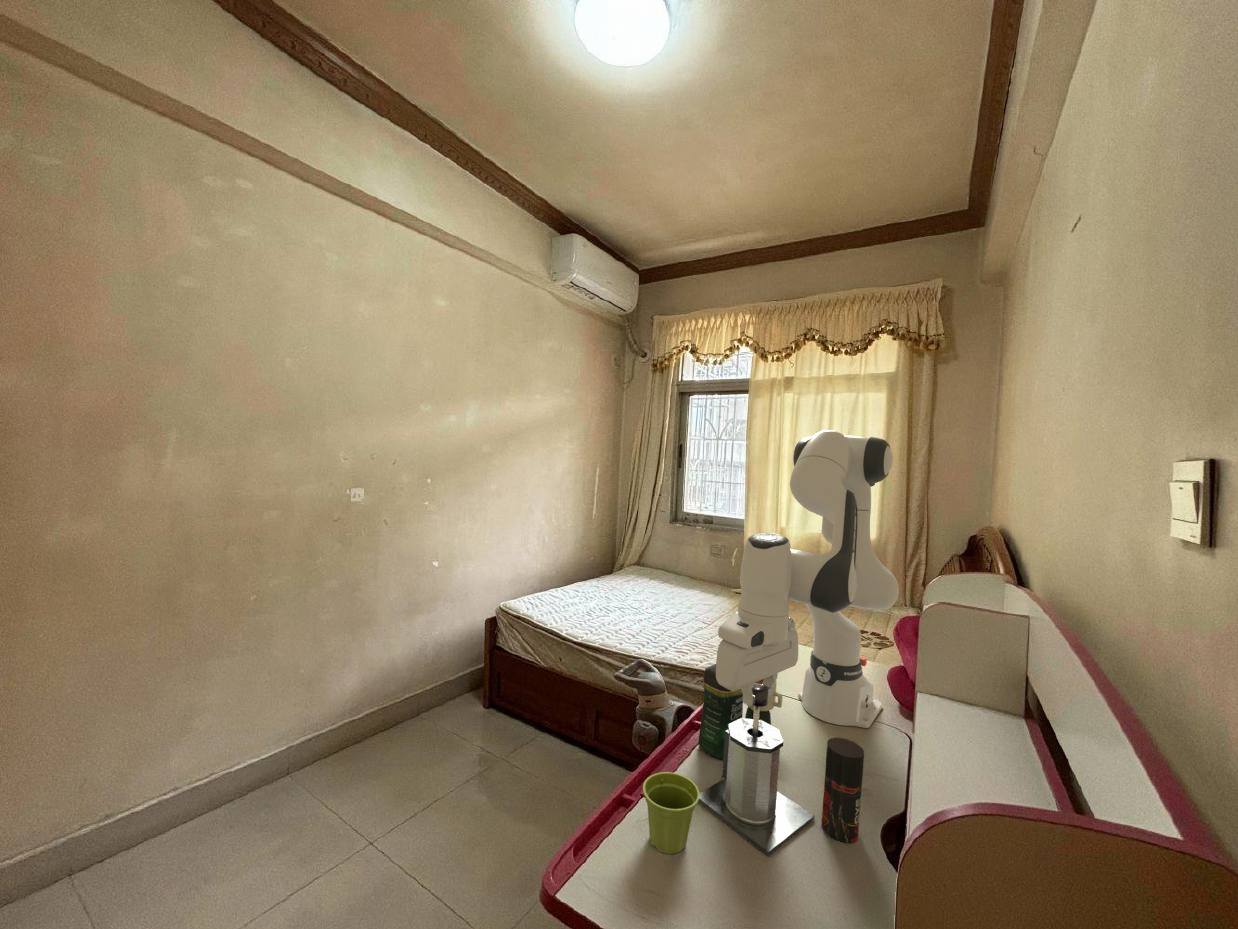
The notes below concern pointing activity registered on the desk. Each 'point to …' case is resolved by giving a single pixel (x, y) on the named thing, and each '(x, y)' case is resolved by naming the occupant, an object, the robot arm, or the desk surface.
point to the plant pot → (670, 809)
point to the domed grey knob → (758, 705)
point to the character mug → (764, 711)
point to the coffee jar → (717, 713)
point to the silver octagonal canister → (754, 788)
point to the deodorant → (842, 790)
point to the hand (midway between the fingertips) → (757, 699)
